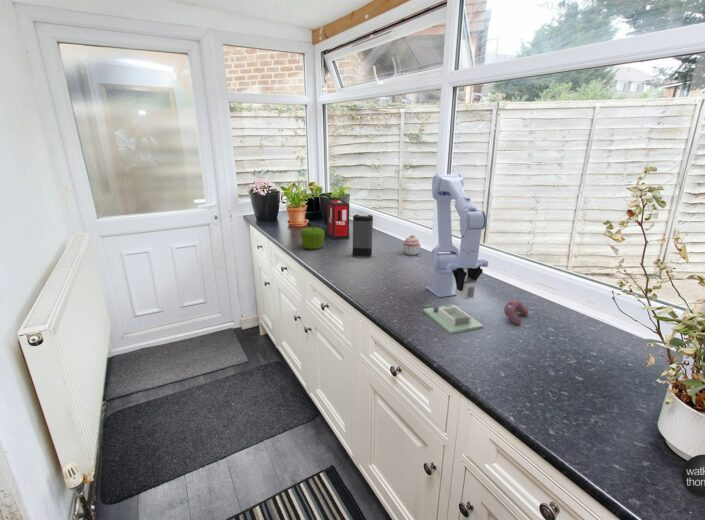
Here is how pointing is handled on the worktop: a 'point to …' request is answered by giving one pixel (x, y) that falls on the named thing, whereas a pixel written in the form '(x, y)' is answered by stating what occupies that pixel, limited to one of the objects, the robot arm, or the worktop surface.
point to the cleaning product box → (338, 219)
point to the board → (452, 318)
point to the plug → (467, 289)
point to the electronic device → (362, 236)
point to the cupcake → (411, 245)
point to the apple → (312, 237)
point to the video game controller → (515, 311)
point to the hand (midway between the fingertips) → (464, 289)
